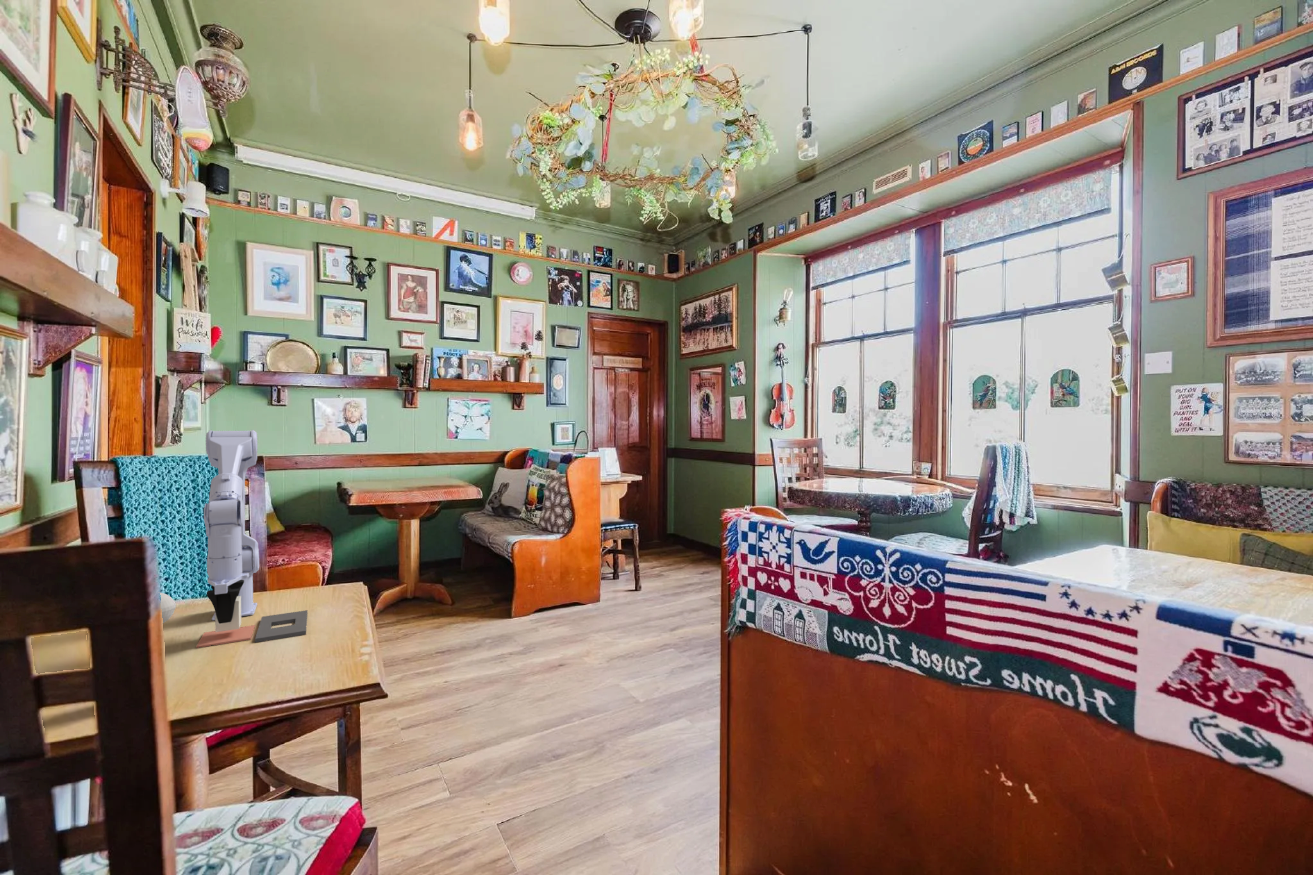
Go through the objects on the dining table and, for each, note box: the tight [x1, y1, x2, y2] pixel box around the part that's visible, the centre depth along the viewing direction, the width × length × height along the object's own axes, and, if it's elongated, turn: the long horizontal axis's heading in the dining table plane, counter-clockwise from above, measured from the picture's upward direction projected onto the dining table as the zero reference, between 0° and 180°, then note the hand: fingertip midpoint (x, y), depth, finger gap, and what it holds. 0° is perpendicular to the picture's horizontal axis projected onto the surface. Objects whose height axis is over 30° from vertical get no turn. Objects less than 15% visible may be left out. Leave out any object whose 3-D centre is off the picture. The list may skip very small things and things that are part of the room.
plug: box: [214, 596, 242, 632], centre depth 122 cm, size 4×4×6 cm
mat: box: [195, 624, 256, 649], centre depth 122 cm, size 9×9×1 cm
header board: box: [254, 609, 308, 643], centre depth 128 cm, size 16×9×1 cm, turn 30°
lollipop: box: [159, 592, 177, 624], centre depth 103 cm, size 6×6×15 cm
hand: (226, 619), depth 122 cm, fingers closed on plug, 4 cm apart
